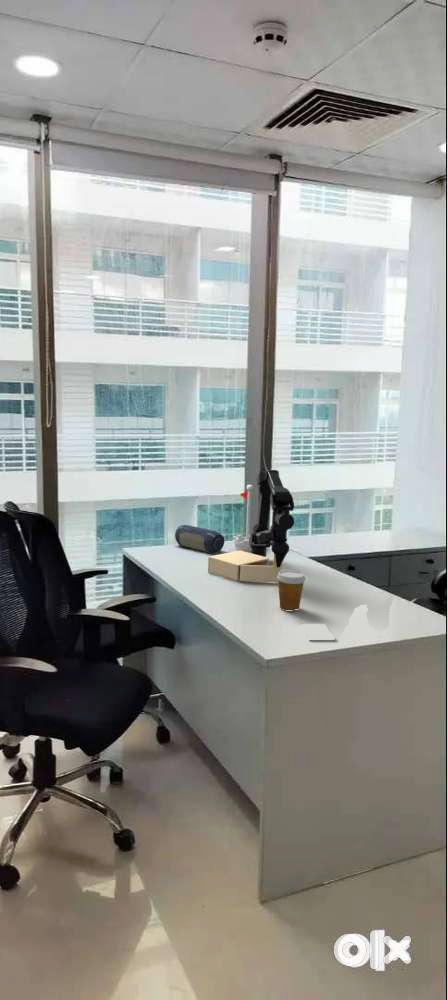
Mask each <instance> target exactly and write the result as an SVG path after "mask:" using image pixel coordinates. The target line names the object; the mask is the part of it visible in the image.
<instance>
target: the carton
mask: <svg viewBox="0 0 447 1000" xmlns="http://www.w3.org/2000/svg"><path fill="white" fill-rule="evenodd" d="M207 564H208V567H207V573H208V574H211V575H215V576H218V577H221V578H224V579H227V580H230V581H234V582H237V583H238V582H241V581H240V565H258V566H270V557H267V556H266V557H263V556H259V555H255V554H252V553H251V552H245V551H239V550H235V551H230V552H225V553H220V554H215V555H211V556H210V555H209V556H208V563H207Z"/></svg>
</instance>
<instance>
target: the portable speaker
mask: <svg viewBox="0 0 447 1000" xmlns="http://www.w3.org/2000/svg"><path fill="white" fill-rule="evenodd" d="M174 538H175V541H176V543H177V544H178V545H179V546H180V547H181V546H182V547H185V546H186V547H185V548H189V547H190V548H189V549H193V548H194V549H193V550H198V551H201V550H202V551H201V552H205V553H210V554H215V553H218V552H220V551H222V549H223V548H224V547H225V546H224V545H225V537H224V535H223V534H222V533H220V532H218V531H217V530H212V529H208V528H202V527H199V526H194V525H188V524H182V525H180V526H178V527H177V528H176V529H175V533H174Z"/></svg>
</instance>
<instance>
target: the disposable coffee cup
mask: <svg viewBox="0 0 447 1000" xmlns="http://www.w3.org/2000/svg"><path fill="white" fill-rule="evenodd" d="M277 579H278V582H277V584H278V598H279V609H280V608H281V609H284V610H295V609H298V608H299V609H300V605H301V604H300V603H301V600H302V595H303V590H304V584H305V581H306V576H305V574H304V573H303V572H300V571H296V570H281V572H279V573H278V576H277ZM281 609H280V610H281ZM284 610H283V611H284Z"/></svg>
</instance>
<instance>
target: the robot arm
mask: <svg viewBox="0 0 447 1000" xmlns="http://www.w3.org/2000/svg"><path fill="white" fill-rule="evenodd" d="M256 485H257V488H258V490H259V492H260V494H259V502H258V512H257V519H256V520H257V521H256V524H255V525H254V526H253V527H252V530H251V533H250V534H249V535H250V538H249V546H250V547H252V550H251V552H250V553H252V554H255V555H259V556H263V557H267V551H268V550H267V548H268V549H269V548H270V547H271V549H270V550H271V552H272V553H273V556H274V555H275V557H276V565H277V567H280V566H282V564H283V563H284V559H285V558H286V556H287V554H288V552H290V546H289V543H288V538H287V536H288V535H287V534H288V530H290V529H292V528H293V526H294V525H295V519H294V516H292V515H291V514H290V511H291V512H293V511H294V508H295V502H294V498H293V495H292V493H291V492H290V490H289V488H287V487H284V485H283V483H282V480H281V478H280V472H279V470H278V469H267V470H265V471H263V472H260V473H258V474H257V476H256ZM270 507H271V508H270ZM270 509H271V511H272V513H271V514H272V517H271V519H272V520H271V525H270V528H269V527H268V524H269V518H270V517H269V516H270V515H269V514H270ZM252 543H253V544H252Z"/></svg>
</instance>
